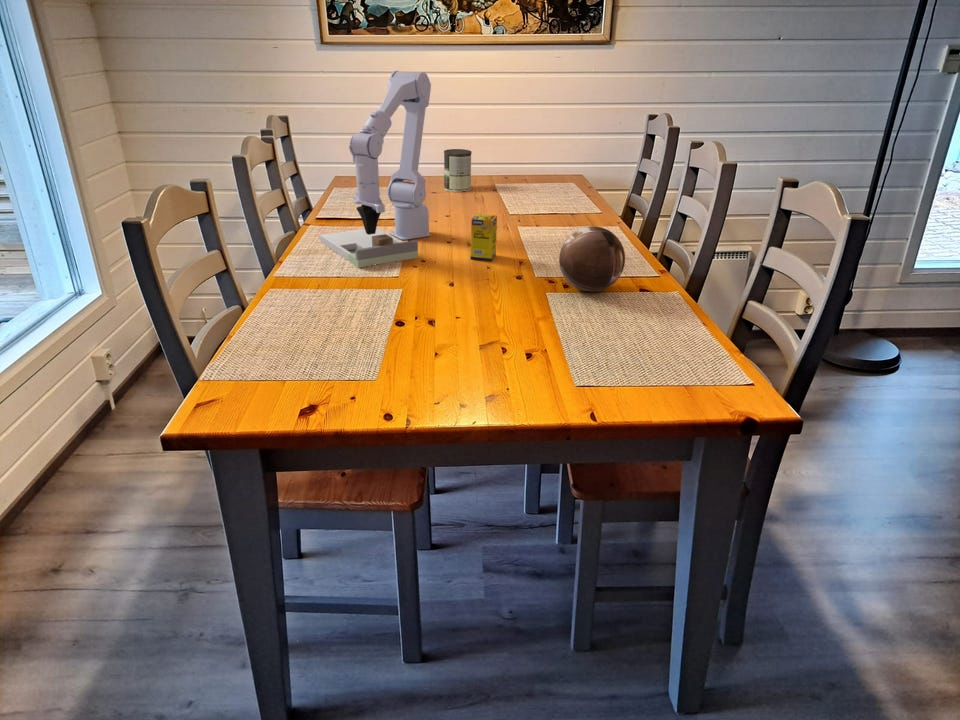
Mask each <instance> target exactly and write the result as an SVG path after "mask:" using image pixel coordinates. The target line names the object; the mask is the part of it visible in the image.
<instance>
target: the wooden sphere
mask: <svg viewBox="0 0 960 720" xmlns="http://www.w3.org/2000/svg"><path fill="white" fill-rule="evenodd" d="M558 261H559V269H560V271H561V274H562V277H563V278H564V280H565V281H566V282H567V283H568V284H569V285H570V286H572V287H574V288H575V289H577V290H579V291H581V290H584V291H583V292H585V291H597V292H601V291H604V290H606V289H608V288H610V287H612V286H613V285H614V284H615V283H616V282H617V281H618V280H619V279H620V276H621V275H622V274H623V271H624V268H625V264H626V253H625V249H624V247H623V244H622V242H621V240H620V239H619V237H617V235H616V234H615V233H613V232H612V231H610V230H609V229H606V228H604V227H601V226H585V227H582V228H580V229H578V230H575V231H574V232H573V233H571V234H570V235H569V236H568V237H567V238H566V239H565V240H564V242H563V244H562V246H561V249H560V251H559V255H558ZM600 290H601V291H600Z"/></svg>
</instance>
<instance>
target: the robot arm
mask: <svg viewBox="0 0 960 720" xmlns="http://www.w3.org/2000/svg"><path fill="white" fill-rule="evenodd" d="M387 89H388V90H387V92H386V94H385V96H384V98H383V101H382V103H381V105H380V106H379V108H378V109H377V110H373V111H372V112H371V113H370V114H369V116H368V118H367V119H366V121H365V123H364V124H363V126H362V127H361V129H360V131H359V132H356V133H355V134H353V135H352V136H351V138H350V139H349V140H350V141H349V145H348V146H349V147H348V149H349V152H350V154H351V156H352V162H353V163H354V164H355V165H354V166H355V177H356V191H357V193H354V194H353V198H354V200H353V203H354V204H356V205H361V206H357V207H356V210H357V212H358V214H359V216H360V219H361V221H362V224H363V229H365V231H366V234H368V235H370V234H375V232H376V228H378V222H379V219H380V216H381V213H385V212H386V207H385V204H384V203H383V202H382V199H381V196H380V195H381V193H380V192H381V191H380V177H379V175H380V174H379V173H380V172H379V157H380V155H382V152H383V145H384V141H385V140H384V139H385V136H386V135H387V134H388V132H389V129H390V128H391V127H392V120H391V118H392V116H393V115H394V114H395V113H396V111H397V110H398V109H399V107H400V106H402V107H404V109H405V111H406V112H405V119H404V120H405V121H404V129H403V136H402V146H401V154H400V159H399V168H398V169H397V170H395V171H394V172H393V173H392V174H391V175H390V181H389V184H388V186H387V192H386V193H387V197H388V199H389V201H390V202H391V205H392V206H394V231H390V232H389V235H390V236H392V237H394V238H396V239H398V240H400V241H405V240H406V241H407V240H412V239H417V238H419V239H420V238H425V237H430V236H431V234H430V214H429V209H428V207H427V205H426V204H424V202H425V201H426V200H425V199H426V196H427V190H426V179H425V178H424V177H423V175H421V173H420V172H419V165H420V164H419V163H420V157H421V156H420V155H421V149H422V140H423V132H424V125H425V117H426V116H425V115H426V110H427V108H428V107H429V103H430V97H431V91H432V90H431V89H432V84H431V81H430V78H429V76H428V74H427V73H426V72H425V71H424V72H423V71H421V72H416V71H415V72H414V71H413V72H411V71H399V70H394V71H393V72H392V73H390V77H389V78H388V80H387ZM410 181H411V182H410Z"/></svg>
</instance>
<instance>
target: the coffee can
mask: <svg viewBox="0 0 960 720" xmlns="http://www.w3.org/2000/svg"><path fill="white" fill-rule="evenodd" d="M443 154H444V155H443V157H444V158H443V159H444V160H443V163H444V164H443V167H444V170H443V172H444V173H443V174H444V175H443V176H444V177H443V178H444V179H443V180H444V182H443V185H444V186H443V189H444V191H446V192H449V191H451V193H462V192H461V191H467V192H470V191H471V186H472V185H471V183H472V182H471V181H472V150H469V149H464V148H463V149H462V148H450V149H449V148H448V149H445V150H443ZM469 190H470V191H469ZM452 191H453V192H452Z"/></svg>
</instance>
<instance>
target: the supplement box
mask: <svg viewBox="0 0 960 720" xmlns="http://www.w3.org/2000/svg"><path fill="white" fill-rule="evenodd" d="M470 221H471V223H470V225H471V226H470V234H471V235H470V260H472V259H475V260H474V261H483V260H487V261H486V262H493V259H494V258H495V257H496V253H497V233H498V231H497V230H498V229H497V227H498V215H495V214H493V215H492V214H482V213H477V214H476V213H475V215H474V216H473V217H472V218H471V219H470ZM493 257H494V258H493Z"/></svg>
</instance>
